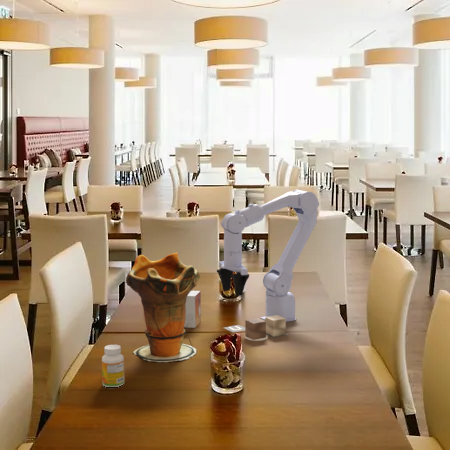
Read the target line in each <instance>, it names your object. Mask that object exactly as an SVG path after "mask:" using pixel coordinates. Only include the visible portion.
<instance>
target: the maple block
mask: <svg viewBox="0 0 450 450" xmlns="http://www.w3.org/2000/svg"><path fill="white" fill-rule="evenodd" d="M264 321H266V333H267V334H269V335H271V336H273V337H274V336H279V335H285V334H287V332H286V331H287V330H286V327H287V326H286V324H287V322H286V318H283V317H281V316H278V315H275V316H269V317H265V320H264ZM285 336H286V335H285ZM274 338H275V337H274Z"/></svg>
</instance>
